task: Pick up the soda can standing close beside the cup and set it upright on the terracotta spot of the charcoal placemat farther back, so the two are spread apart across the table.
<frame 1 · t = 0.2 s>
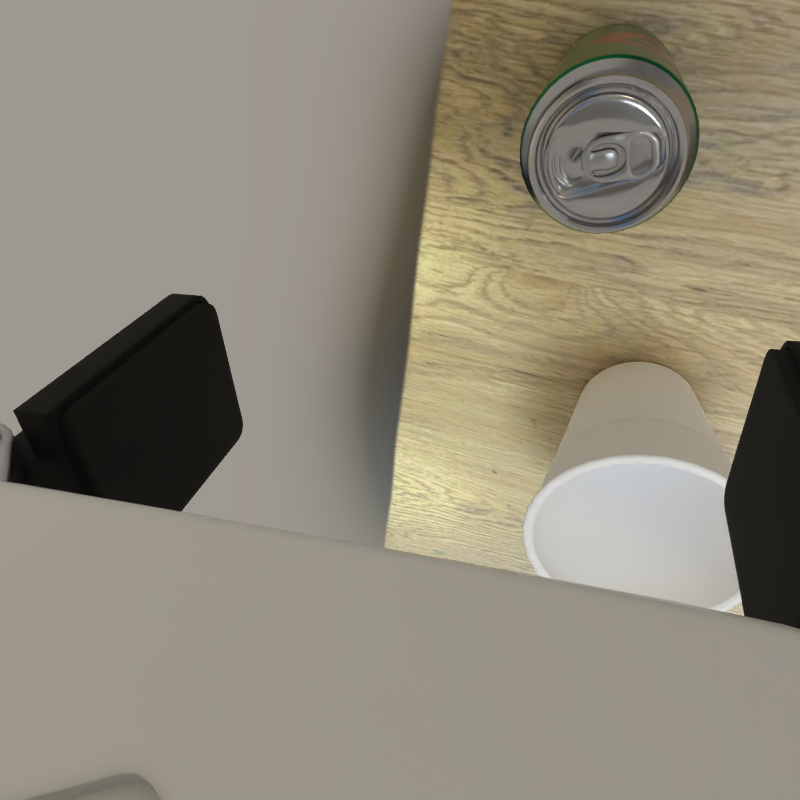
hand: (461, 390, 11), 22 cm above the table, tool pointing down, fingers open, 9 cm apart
cup: (635, 403, 36), on the table
soda can: (610, 89, 28), on the table
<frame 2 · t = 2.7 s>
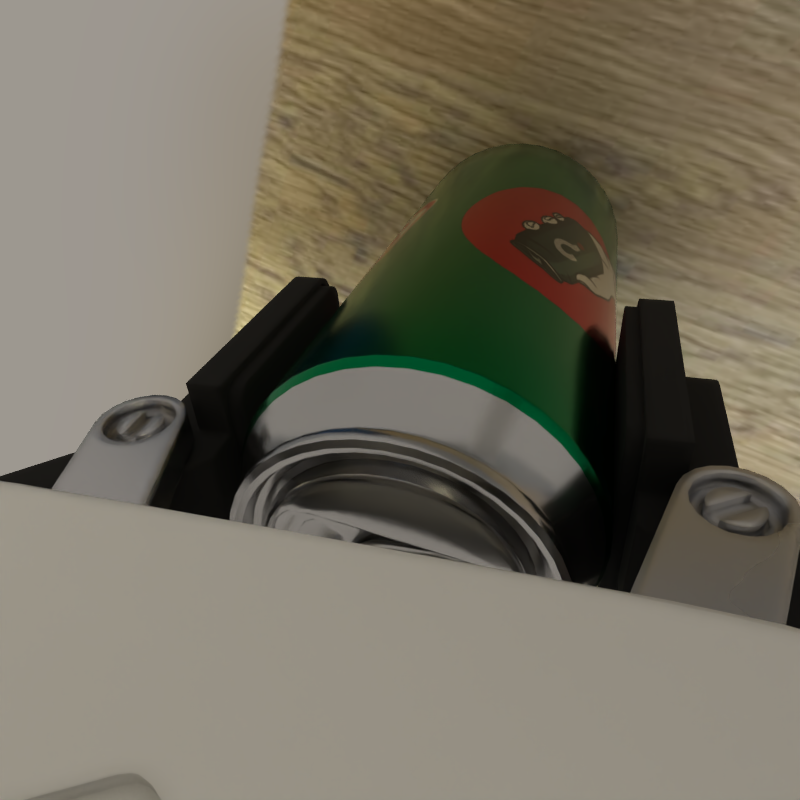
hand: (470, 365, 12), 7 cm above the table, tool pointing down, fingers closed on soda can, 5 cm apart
soda can: (519, 234, 17), on the table, touching gripper
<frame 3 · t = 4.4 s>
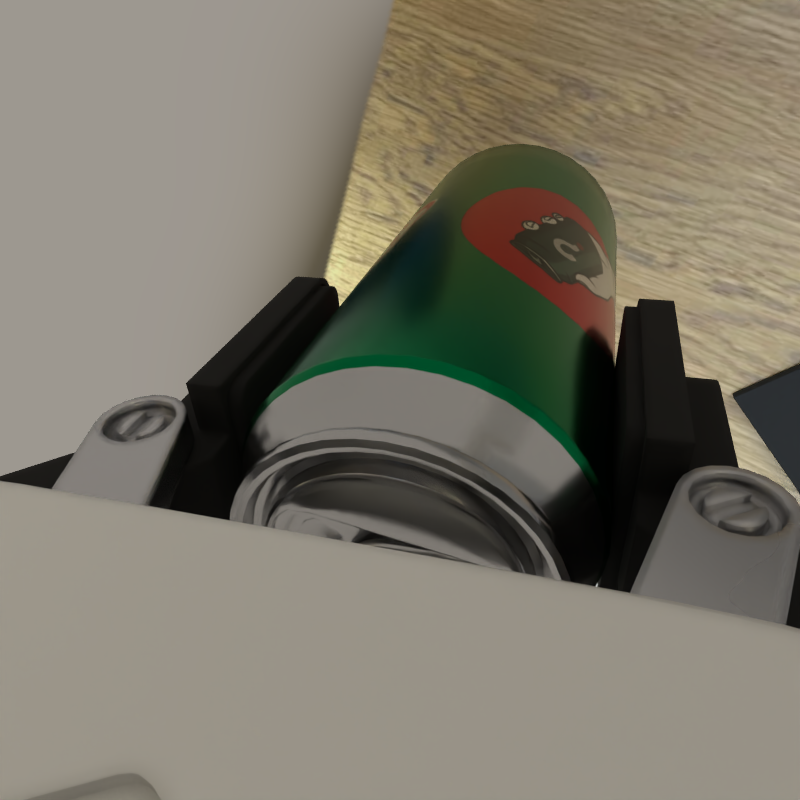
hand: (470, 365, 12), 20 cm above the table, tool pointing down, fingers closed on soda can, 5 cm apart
soda can: (518, 234, 17), point 13 cm above the table, touching gripper
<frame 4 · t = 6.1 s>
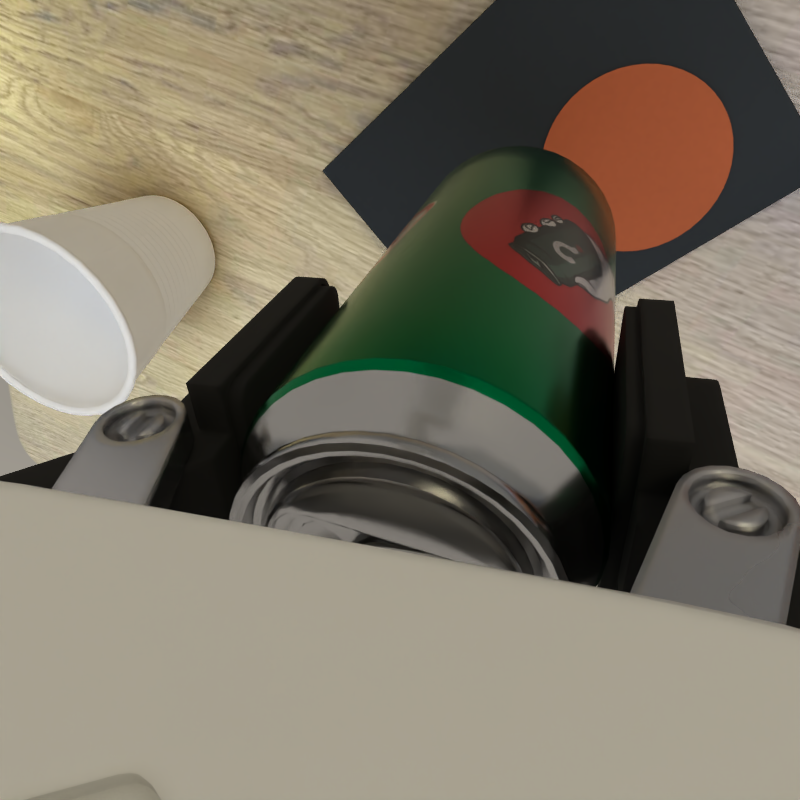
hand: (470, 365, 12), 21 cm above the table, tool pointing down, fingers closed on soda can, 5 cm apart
placemat: (550, 168, 30), on the table
cup: (174, 243, 38), on the table
soda can: (518, 236, 17), point 14 cm above the table, touching gripper
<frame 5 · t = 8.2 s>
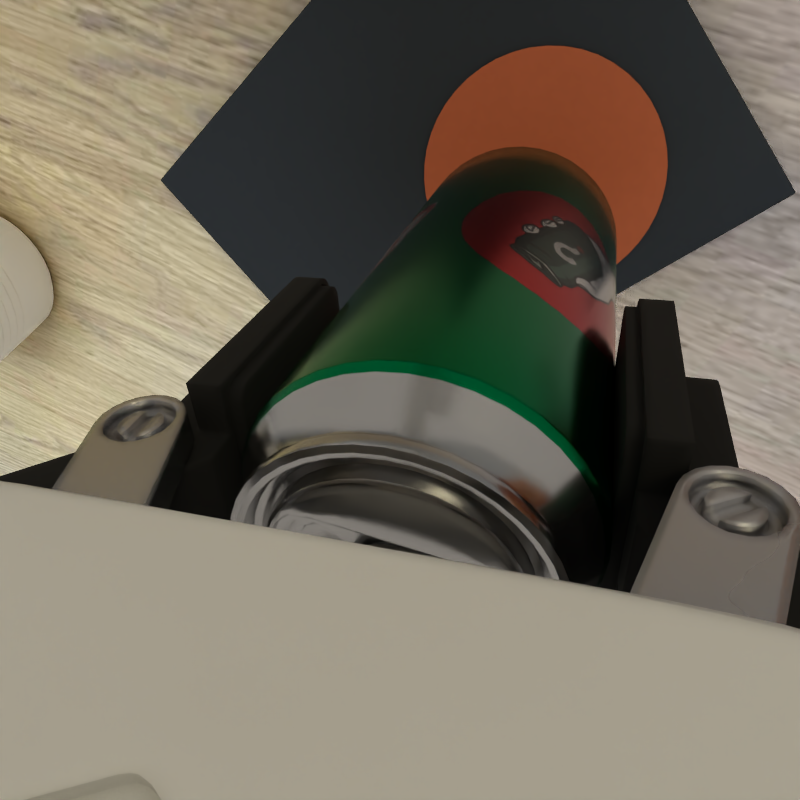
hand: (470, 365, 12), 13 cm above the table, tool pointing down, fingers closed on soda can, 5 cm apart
placemat: (438, 182, 23), on the table
cup: (6, 264, 31), on the table
soda can: (518, 236, 17), point 6 cm above the table, touching gripper
when the fingers open (7 cm above the table, at t = 9.9 s): soda can stays where it is, resting on placemat.
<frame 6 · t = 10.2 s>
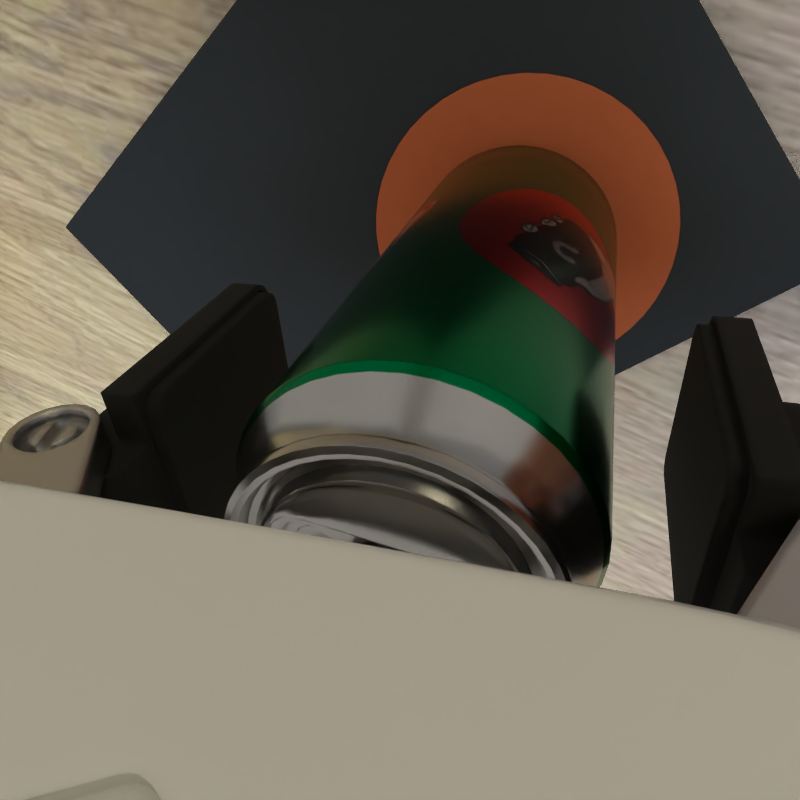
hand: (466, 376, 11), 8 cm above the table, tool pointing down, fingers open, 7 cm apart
placemat: (395, 237, 18), on the table
soda can: (518, 236, 17), resting on placemat
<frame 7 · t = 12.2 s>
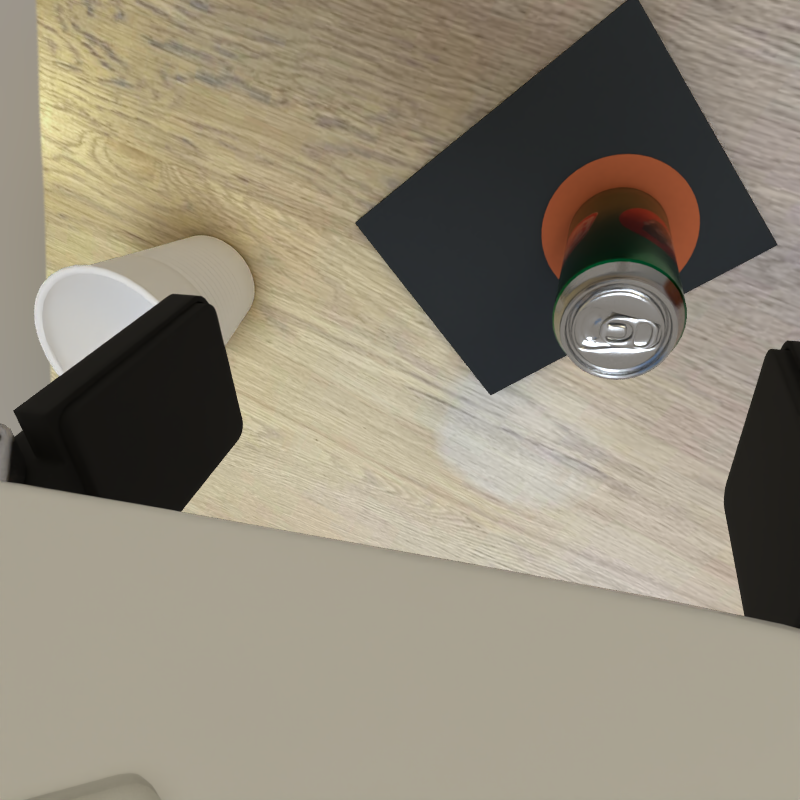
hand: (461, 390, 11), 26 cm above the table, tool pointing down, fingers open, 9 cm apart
placemat: (549, 231, 35), on the table
cup: (217, 276, 43), on the table
soda can: (617, 231, 34), resting on placemat
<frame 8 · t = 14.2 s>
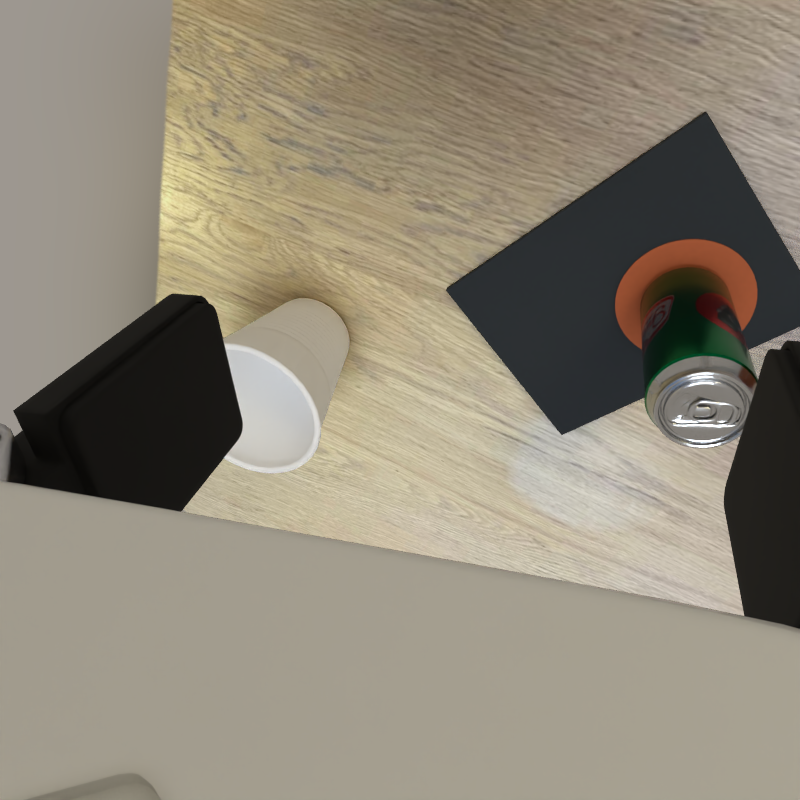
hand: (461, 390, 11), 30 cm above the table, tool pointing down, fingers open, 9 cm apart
placemat: (621, 299, 40), on the table
cup: (314, 331, 49), on the table
soda can: (683, 300, 39), resting on placemat
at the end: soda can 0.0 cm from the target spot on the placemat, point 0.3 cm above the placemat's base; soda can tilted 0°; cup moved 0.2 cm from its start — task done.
